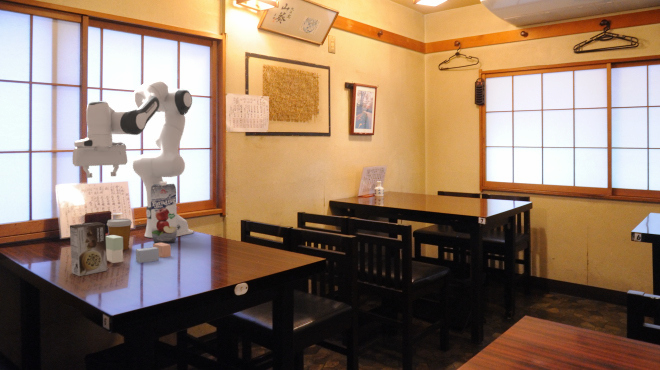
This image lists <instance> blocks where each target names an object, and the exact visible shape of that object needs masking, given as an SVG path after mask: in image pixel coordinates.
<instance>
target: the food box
mask: <svg viewBox="0 0 660 370" xmlns="http://www.w3.org/2000/svg"><path fill="white" fill-rule="evenodd" d="M106 236H107V234H106V224H105V223H102V222H99V221H93V222H86V223H77V224H71V225H69V239H70V240H69V241H70V255H71V256H70V259H71V260H70V261H71V274H73V275H76V276H78V277H82V276H87V275H91V274H97V273H101V272H106V271H108V261H107V255H106Z"/></svg>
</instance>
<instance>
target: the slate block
mask: <svg viewBox="0 0 660 370" xmlns="http://www.w3.org/2000/svg"><path fill="white" fill-rule="evenodd" d="M135 260H136V261H135V262H137V263H139V264H141V263H142V264H143V263H149V262H155V261H159V260H160V257H159V248H156V247H153V246H152V247H147V248H146V247H145V248H143V247H142V248H138V249H135Z"/></svg>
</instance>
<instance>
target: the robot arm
mask: <svg viewBox="0 0 660 370" xmlns="http://www.w3.org/2000/svg"><path fill="white" fill-rule="evenodd" d="M132 101H133V103H134V105H135V107H137V109H131V110H129V109H128V110H117V109H114V108H113V107H112V106H111V105H110V102H108V101H106V100H99V101H98V100H97V101H91V102H89V103H88V104H87V107H86V112H85V113H86V114H85V115H86V125H87V129H88V130H87V133H86V134H87V135H86V137H85V138H83V139H78V140H76V141H74V143H73V145H74V147H75V148H74V149H73V151H72V164H73V166H74V167H82V170H83V171H84V172H85V173H86V178H87V179H88V178H89V179H91V178H93V173H92V172H90V170H89V169H90V167H96V166H97V167H98V166H99V167H100V166H112V168H113V170H112V171H110V177H116V176H117V172H118V170H119V168H120V167H119V166H120V165H121V166H122V165H127V163H128V156H127V155H128V154H127V146H126V145H125V143H124V142H123V141H119V142H117V141H114V142H113V135H133V136H137V135H140V134H141V133H142V132H143V131H144V130H145V129H146V128H145V127H146V126H147V124H148V122H149V121H150V120H151V118H153V116H154V115H155V114H156V112H158V113H160V112H163V113H164V117H163V119H162V121H161V123H160V125H159V127H158V131H157V133H156V136H155V139H154V140H155V144H156V146H157V147H158V148H159V149H160V152H158V153H144V154H139V155H137V156H136V157H134V159H133V162H132V169H133V171H134V172H135V174H136V175H137V176H138V177H139V178H140V179H141V180H142V182H143V184H144V186H145V191H146V203H147V206H146V227H145V232H144V237H145V238H151V239H153V238H152V226H151V187H152V185H153V184H160V182H162V181H164V179H163V178H172V177H173V178H174V177H179V176H181V175H182V174H183V173H184V171H185V168H186V162H185V161H184V159H183V156H181V155H180V152H179V148H180V147H179V146H180V143H181V139H182V137H183V133H184V130H185V125H186V117H185V115H186V114H187V113H188V112H189V110H190V109H191V107H192V104H193V97H192V95H191V93H190V91H189V90H187V89H184V88H169V87H168V84H167V83H166V82H165V81H164V80H163V79H161V78H154V79H151V80H149V81H146V82H145V83H143V84H141V85H140V86H139V87H137V89H135V90H134V92H133V93H132ZM176 207H177V212H178V211H179V210H180V209H181V208H180V206H177V205H176ZM191 234H194V230H192V229H190V228H189V225H188V221H187V220H186V219H185V218H183V217H182V216H180V215H179V214H178V213H177V235H176V237H180V236H186V235H191Z"/></svg>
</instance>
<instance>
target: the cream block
mask: <svg viewBox="0 0 660 370" xmlns="http://www.w3.org/2000/svg"><path fill="white" fill-rule="evenodd" d="M123 251H124V250H123V249H122V250H116V251H113V250H109V249H106V255H107V262H109V263H112V264H116V263H122V262H124V254H123V253H124V252H123Z"/></svg>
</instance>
